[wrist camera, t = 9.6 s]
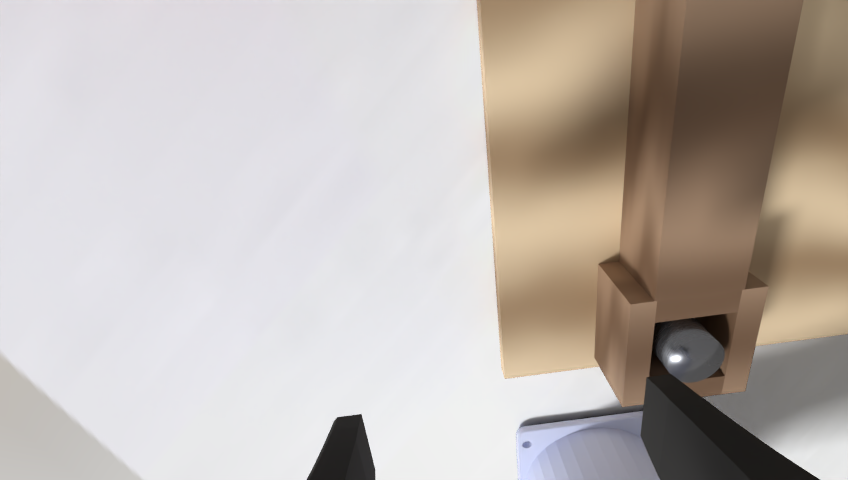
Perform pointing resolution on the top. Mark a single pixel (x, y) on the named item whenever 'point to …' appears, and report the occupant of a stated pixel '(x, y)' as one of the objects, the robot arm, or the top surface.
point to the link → (694, 184)
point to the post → (687, 349)
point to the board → (605, 165)
